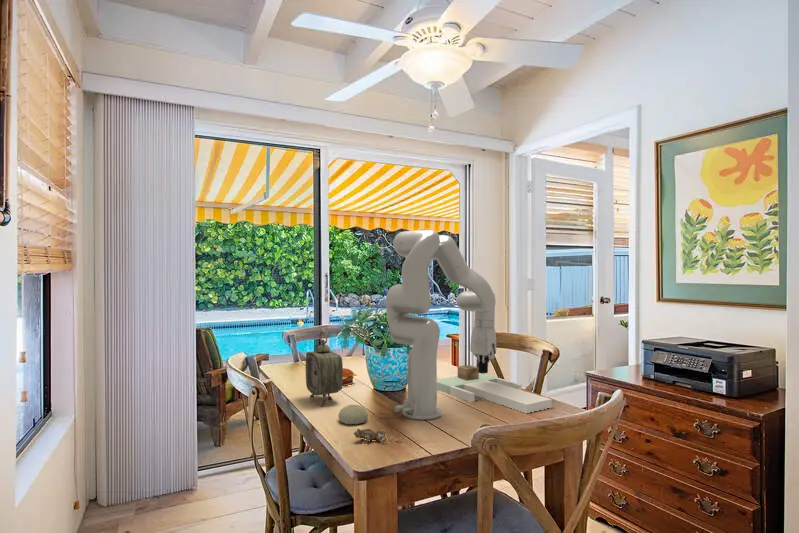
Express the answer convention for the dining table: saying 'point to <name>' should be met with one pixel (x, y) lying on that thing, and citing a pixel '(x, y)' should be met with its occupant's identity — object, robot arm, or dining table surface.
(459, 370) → the walnut block
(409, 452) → the dining table surface
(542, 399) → the board
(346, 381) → the hamburger
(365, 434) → the frog figurine
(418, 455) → the dining table surface
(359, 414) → the sea urchin shell
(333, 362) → the tabletop clock
